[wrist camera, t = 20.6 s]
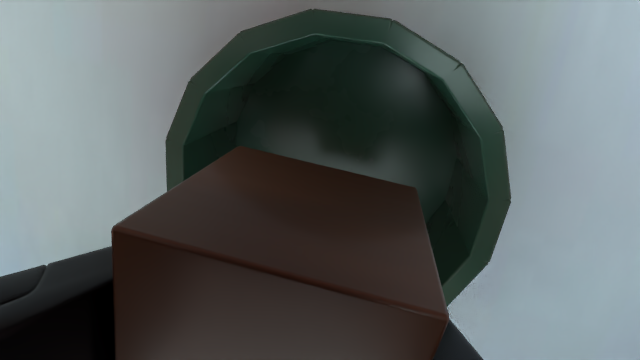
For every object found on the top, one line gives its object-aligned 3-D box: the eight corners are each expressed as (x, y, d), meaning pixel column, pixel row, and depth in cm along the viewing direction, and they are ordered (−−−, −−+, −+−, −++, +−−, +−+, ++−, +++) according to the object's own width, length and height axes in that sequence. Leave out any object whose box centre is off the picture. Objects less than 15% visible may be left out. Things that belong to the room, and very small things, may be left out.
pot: (517, 187, 16) (579, 248, 11) (319, 294, 20) (298, 375, 15) (372, -38, 14) (367, -89, 9) (182, 129, 18) (104, 158, 13)
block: (417, 186, 8) (452, 318, 4) (371, 329, 10) (364, 527, 6) (238, 144, 9) (108, 225, 5) (222, 288, 10) (115, 446, 6)
